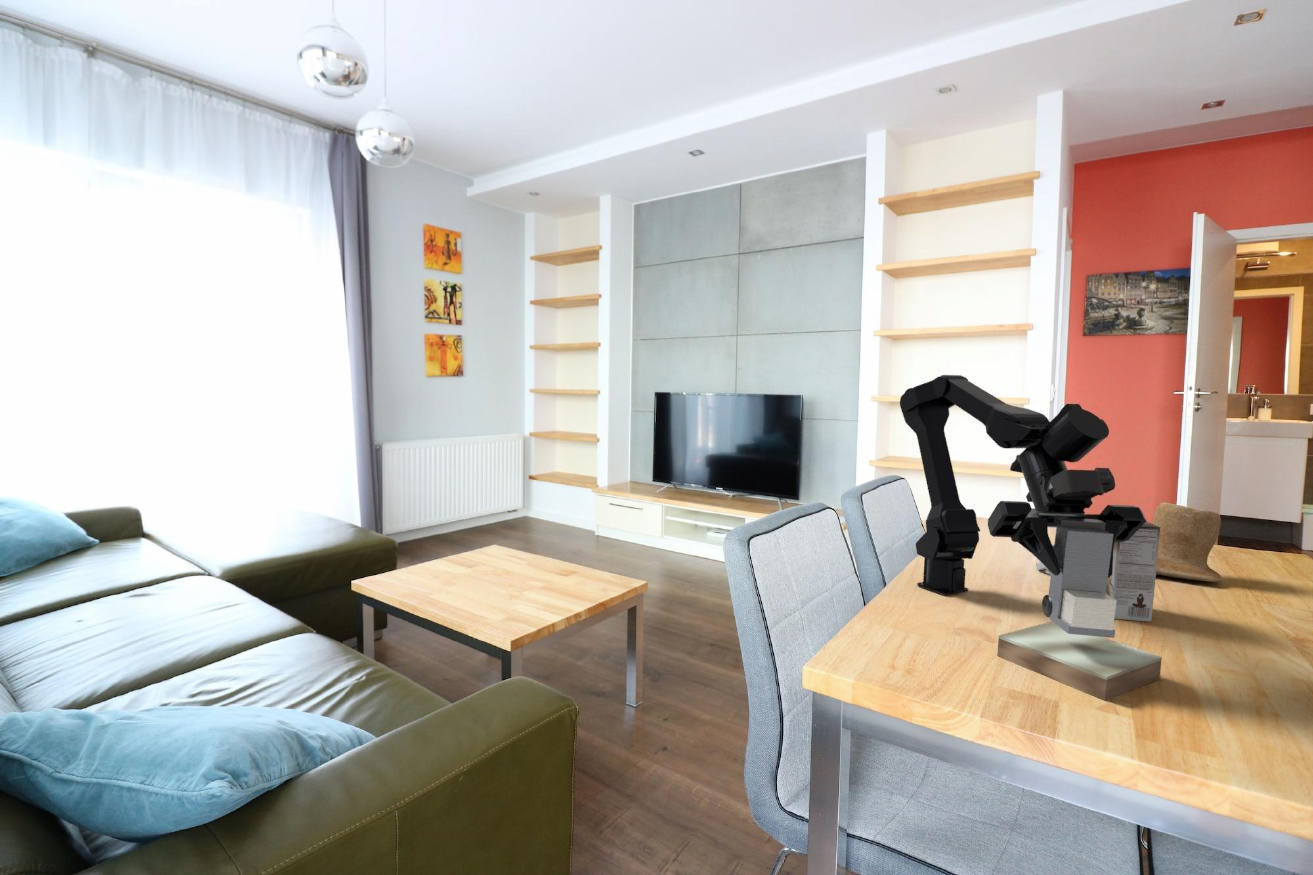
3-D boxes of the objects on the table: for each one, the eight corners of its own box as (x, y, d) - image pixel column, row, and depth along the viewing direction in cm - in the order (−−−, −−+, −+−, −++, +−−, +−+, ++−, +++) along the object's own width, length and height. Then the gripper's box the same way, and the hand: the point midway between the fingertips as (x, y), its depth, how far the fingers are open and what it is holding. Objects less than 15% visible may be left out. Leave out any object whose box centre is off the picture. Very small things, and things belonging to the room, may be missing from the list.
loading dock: (997, 655, 90) (998, 635, 90) (1052, 639, 96) (1053, 620, 96) (1104, 700, 77) (1106, 676, 77) (1159, 678, 83) (1161, 657, 83)
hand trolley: (1041, 612, 90) (1052, 515, 88) (1083, 615, 89) (1095, 518, 88) (1068, 633, 83) (1080, 529, 81) (1114, 637, 82) (1128, 532, 80)
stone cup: (1219, 576, 130) (1226, 504, 129) (1221, 590, 121) (1228, 513, 120) (1128, 561, 140) (1133, 495, 139) (1123, 573, 131) (1129, 502, 130)
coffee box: (1085, 600, 114) (1092, 512, 112) (1125, 603, 113) (1132, 515, 111) (1110, 619, 105) (1118, 524, 103) (1154, 622, 104) (1163, 526, 102)
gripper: (1001, 444, 89) (1032, 540, 79) (1143, 448, 87) (1194, 547, 77) (976, 490, 98) (1001, 582, 88) (1105, 494, 96) (1146, 589, 86)
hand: (1083, 575), depth 84 cm, fingers closed on hand trolley, 6 cm apart
